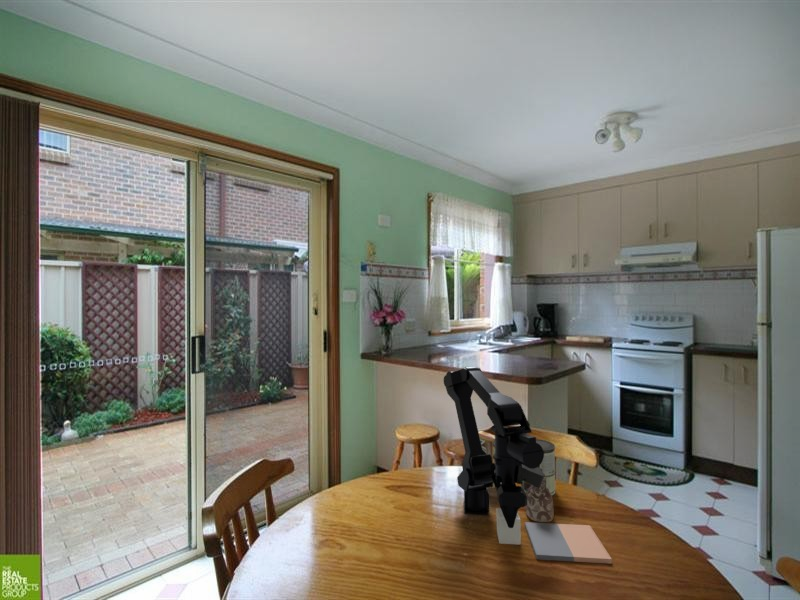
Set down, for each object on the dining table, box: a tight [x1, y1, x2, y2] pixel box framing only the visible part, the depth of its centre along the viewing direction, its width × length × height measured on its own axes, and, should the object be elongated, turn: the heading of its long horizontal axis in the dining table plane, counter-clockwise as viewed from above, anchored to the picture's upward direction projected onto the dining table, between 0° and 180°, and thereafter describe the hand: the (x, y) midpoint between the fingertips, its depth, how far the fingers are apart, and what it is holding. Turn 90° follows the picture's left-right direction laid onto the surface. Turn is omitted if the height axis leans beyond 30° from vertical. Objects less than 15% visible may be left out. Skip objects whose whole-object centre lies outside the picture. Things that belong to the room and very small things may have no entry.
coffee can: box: [520, 438, 556, 496], centre depth 126 cm, size 10×10×14 cm
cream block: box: [496, 507, 522, 546], centre depth 100 cm, size 5×5×6 cm
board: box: [524, 521, 613, 565], centre depth 97 cm, size 16×14×1 cm
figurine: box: [525, 468, 555, 523], centre depth 110 cm, size 7×7×12 cm
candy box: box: [478, 430, 496, 489], centre depth 132 cm, size 9×4×15 cm, turn 33°
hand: (507, 517), depth 100 cm, fingers open, 9 cm apart
